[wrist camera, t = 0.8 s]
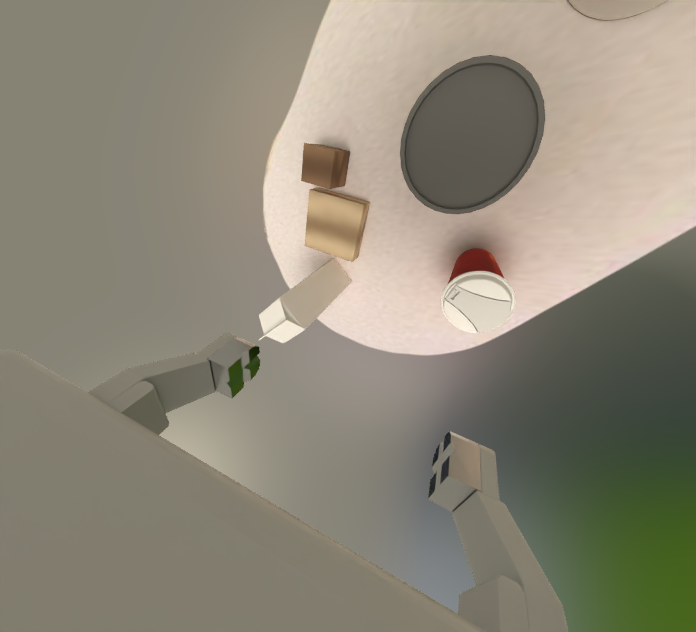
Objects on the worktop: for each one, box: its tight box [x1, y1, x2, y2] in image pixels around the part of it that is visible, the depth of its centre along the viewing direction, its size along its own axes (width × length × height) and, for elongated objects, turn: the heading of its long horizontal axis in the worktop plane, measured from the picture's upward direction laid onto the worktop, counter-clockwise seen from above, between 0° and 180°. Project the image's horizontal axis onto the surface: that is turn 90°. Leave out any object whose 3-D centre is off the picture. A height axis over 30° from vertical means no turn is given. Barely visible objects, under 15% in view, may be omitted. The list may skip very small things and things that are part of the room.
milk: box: [259, 258, 352, 343], centre depth 45 cm, size 6×6×22 cm
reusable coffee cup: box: [400, 55, 545, 214], centre depth 30 cm, size 13×13×15 cm
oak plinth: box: [305, 188, 370, 262], centre depth 47 cm, size 10×10×3 cm
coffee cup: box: [441, 249, 515, 333], centre depth 37 cm, size 8×8×15 cm
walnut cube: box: [301, 143, 350, 189], centre depth 41 cm, size 5×5×6 cm
